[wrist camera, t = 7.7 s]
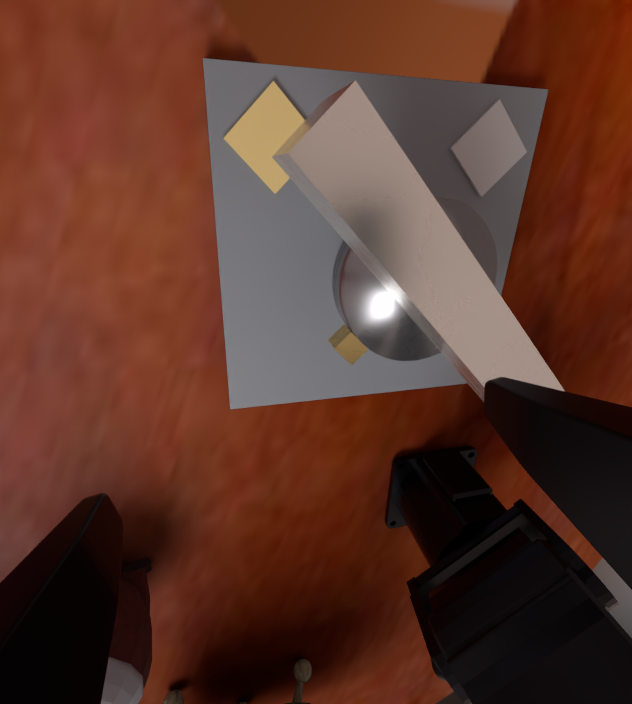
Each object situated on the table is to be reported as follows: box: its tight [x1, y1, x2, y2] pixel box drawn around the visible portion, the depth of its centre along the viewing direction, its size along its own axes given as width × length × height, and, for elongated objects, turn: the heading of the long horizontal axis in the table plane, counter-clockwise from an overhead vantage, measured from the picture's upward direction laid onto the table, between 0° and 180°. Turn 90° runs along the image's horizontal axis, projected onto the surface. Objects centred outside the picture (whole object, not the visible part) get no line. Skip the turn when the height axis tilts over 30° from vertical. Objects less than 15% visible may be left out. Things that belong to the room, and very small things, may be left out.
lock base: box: [203, 58, 548, 409], centre depth 19 cm, size 16×16×4 cm
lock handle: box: [272, 80, 564, 402], centre depth 15 cm, size 15×8×5 cm, turn 43°
